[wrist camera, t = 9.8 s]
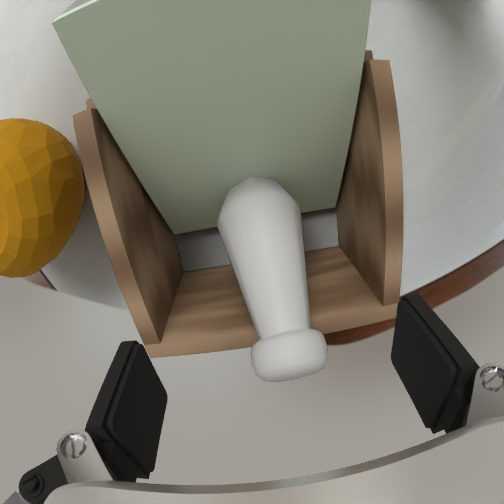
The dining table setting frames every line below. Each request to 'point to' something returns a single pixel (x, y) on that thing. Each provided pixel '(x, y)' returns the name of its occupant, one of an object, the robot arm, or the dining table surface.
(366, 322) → the box
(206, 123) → the trapdoor
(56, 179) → the apple
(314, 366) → the salt shaker
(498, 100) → the dining table surface
